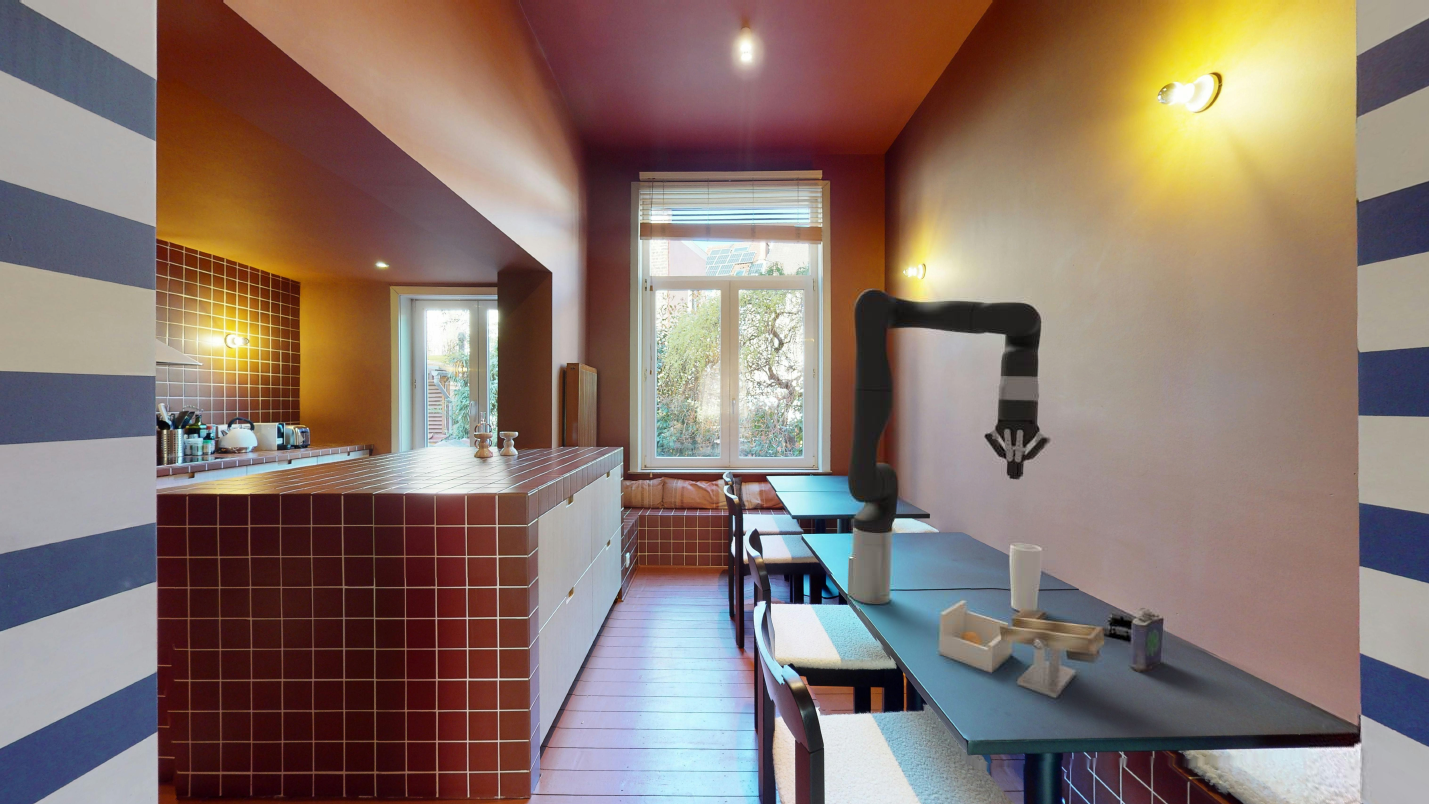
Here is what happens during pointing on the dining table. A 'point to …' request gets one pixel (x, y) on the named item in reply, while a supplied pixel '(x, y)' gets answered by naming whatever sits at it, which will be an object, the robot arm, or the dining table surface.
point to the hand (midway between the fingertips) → (1014, 478)
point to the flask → (1146, 641)
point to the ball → (971, 637)
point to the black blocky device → (1118, 621)
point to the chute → (1055, 635)
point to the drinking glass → (1025, 575)
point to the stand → (1046, 671)
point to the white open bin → (969, 653)
